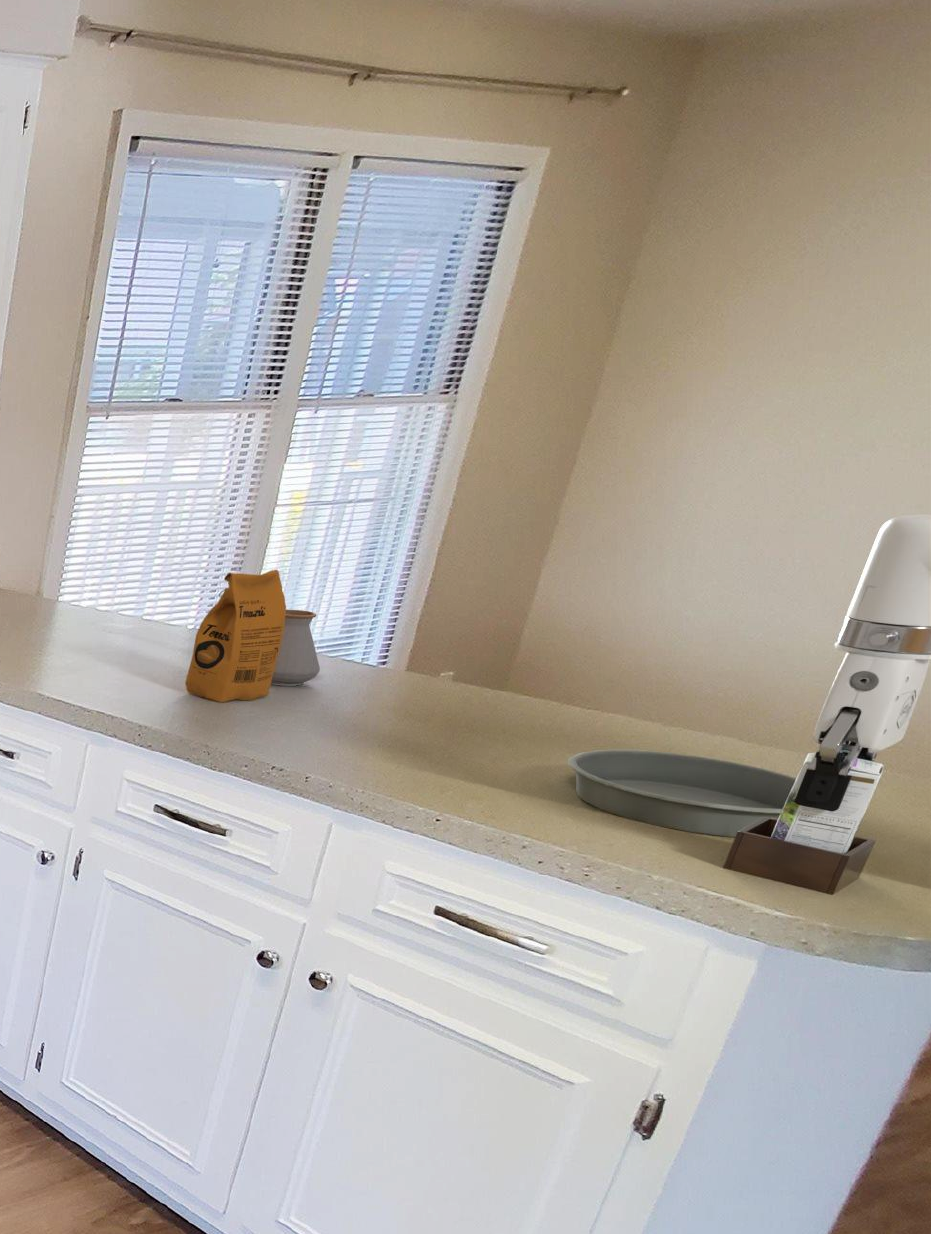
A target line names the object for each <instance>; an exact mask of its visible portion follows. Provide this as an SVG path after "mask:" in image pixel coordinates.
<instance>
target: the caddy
mask: <svg viewBox="0 0 931 1234" xmlns="http://www.w3.org/2000/svg"><path fill="white" fill-rule="evenodd" d="M777 820H778V819H773V818H769V817H765V818H763V819H761V820H759V821H757V822H755V823H753V824H751V825H749V826H747V827H745V828H743V829H741V830H740V831H738V832H737V834H736V837H734V839H733V842H732V843H731V847H730V849H729V852H728V854H727V857H726V860H725V862H724V864H723V866H722V869H725V870H729V871H733V872H736V873H740V874H745V875H749V876H753V877H756V878H762V879H765V880H769V881H774V882H778V883H781V884H785V885H790V886H794V887H798V888H801V889H806V890H809V891H810V890H811V891H813V892H818V893H823V894H826V895H831V896H834V895H836V894H837V893H838V892H840V891H841V890H843V889H844V888H846V887H848V886H849V885H851V884H852V883H854V882H855V881H857V880H859V879H860V877H861V875H862V873H863V870H864V868H865V866H866V863H867V861H868V859H869V857H870V855H871V852H872V851H873V848H874V846H875V844H876V839H870V838H867V837H861V836H857V835H855V836H854V839H853V841H852V843H851V845H850V847H849V850H848V852H847V853H846V854H842V853H838V852H833V851H829V850H824V849H820V848H815V847H811V846H806V845H802V844H797V843H793V842H789V841H784V840H780V839H775V838H771V836H772V833H773V831H774V828H775V825H776V823H777Z"/></svg>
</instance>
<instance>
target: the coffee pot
mask: <svg viewBox="0 0 931 1234" xmlns="http://www.w3.org/2000/svg"><path fill="white" fill-rule="evenodd" d="M227 588H228V587H225V588H224V589H223V590H221V591H220V592H219V594H218V597H221V595H222V594H223V593H224V591H225V590H226V589H227ZM316 617H317V613H315V612H313V611H310V610H309V611H308V610H299V609H286V616H285V625H284V631H283V635H282V641H281V647H280V651H279V654H278V658H277V662H276V666H275V669H274V673H273V676H272V681H271V685H274V686H282V687H283V686H284V687H297V686H296V685H299V686H302V685H301V684H303V683H304V684H305V683H307V682H309V681H311V680H313V679H314V678H316V677H317V675H319V673H320V671H321V666H320V663H319V658H318V655H317V651H316V647H315V643H314V638H313V634H312V631H311V627H310V624H311V623H312V621H313V620H314V618H316ZM304 684H303V685H304Z"/></svg>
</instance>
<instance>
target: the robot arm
mask: <svg viewBox="0 0 931 1234" xmlns="http://www.w3.org/2000/svg"><path fill="white" fill-rule="evenodd" d="M854 591H855V592H854V594H853V597H852V599H851V602H850V604H849V606H848V609H847V612H846V615H845V617H844V619H843V622H842V625H841V627H840V630H839V632H838V635H837V636H836V637H837V638H836V640H835V643H834V646H833V648H834V649H835V650H839V651H841V652H846V653H845V655H844V658H843V660H842V662H841V664H840V665H839V668H838V669H837V672H836V675H835V677H834V680H833V682H832V684H831V687H830V689H829V691H828V694H827V696H826V698H825V701H824V703H823V706H822V708H821V711H820V713H819V716H818V719H817V721H816V724H815V727H814V730H813V734H812V739H813V741H814V742H815V743H816V744H819V746H818V748H817V750H816V752H815V753H816V754H815V755H814V757H813V759H812V761H811V763H810V765H809V768H808V769H807V770H806V773H805V775H804V778H803V780H802V783H801V785H800V788H799V790H798V793H797V796H796V798H795V801H794V802H795V804H797V805H801V806H806V807H811V808H816V809H821V810H827V811H836V810H838V809H839V807H840V805H841V802H842V800H843V797H844V795H845V792H846V790H847V788H848V785H849V783H850V780H851V778H852V776H851V775H848V774H849V772H850V770H851V768H852V766H853V764H854V762H855V760H856V758H858V759H863V760H868V761H872V762H875V760H876V758H877V756H878V753H879V752H881V751H883V750H885V749H887V748H889V747H891V746H893V745H895V744H897V743H899V742H900V741H902V739H904V737H905V735H906V732H907V729H908V727H909V724H910V722H911V718H912V715H913V713H914V711H915V708H916V705H917V703H918V699H919V697H920V694H921V691H922V688H923V685H924V682H925V680H926V677H927V674H928V670H929V666H930V661H931V513H927V514H926V513H923V514H919V513H917V514H904V515H899V516H895V517H893V518H890V519H889V520H887V521H886V522H885V523H884V524H883V525H882V526H881V527H880V528H879V531H878V533H877V535H876V538H875V540H874V542H873V545H872V548H871V550H870V553H869V556H868V558H867V560H866V563H865V566H864V568H863V570H862V573H861V576H860V579H859V581H858V584H857V586H856V589H855V590H854ZM846 756H847V757H846ZM845 758H846V759H845ZM844 760H845V761H844Z"/></svg>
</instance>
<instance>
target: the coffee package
mask: <svg viewBox="0 0 931 1234" xmlns="http://www.w3.org/2000/svg"><path fill="white" fill-rule="evenodd" d="M280 576H281V575H280V572H279V570H278V569H271V570H269V571H267V572H264V573H262V574H251V573H250V574H249V573H239V572H238V573H237V572H235V573H234V572H228V573H227V574H226V575H225V577H224V581H225V582H227V583H228V587H226V588H227V589H226V588H225V589H226V590H225V589H224V590H225V591H223V592H222V594H221V595H220V597H219V600H218V602H216V604H215V605H214V606H212V608H211V609H210V610H209V612H208V613H206V615H205V617H204V618H203V619H202V621H201V623H200V625H199V628H198V630H197V632H196V634H195V639H194V644H193V645H194V646H193V651H192V657H191V659H190V664H189V668H188V673H187V675H186V679H185V683H184V684H185V687H186V691H187V693H189V694H191V695H192V694H193V695H197V696H198V697H199V698H205V699H206V700H209V701H214V702H217V703H226V702H230V701H234V700H241V701H254V700H258V699H260V698H264V697H268V696H269V693H270V688H271V685H272V684H271V681H272V676H273V673H274V669H275V666H276V662H277V658H278V654H279V651H280V647H281V641H282V635H283V631H284V625H285V616H286V610H287V605H286V596H285V594H284V591H283V585H282V581H281V577H280Z"/></svg>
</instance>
